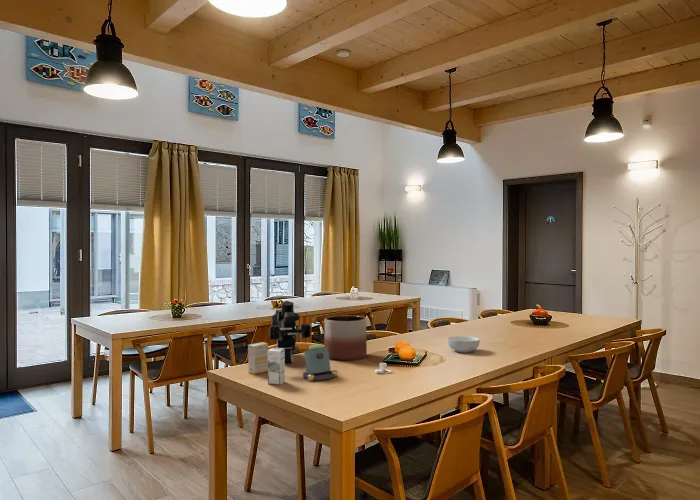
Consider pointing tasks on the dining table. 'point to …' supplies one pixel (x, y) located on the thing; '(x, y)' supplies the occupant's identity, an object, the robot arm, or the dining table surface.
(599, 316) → the dining table surface
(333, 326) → the planter
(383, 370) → the white lobed piece
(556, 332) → the dining table surface
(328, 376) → the base
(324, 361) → the grey upright slab
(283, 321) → the robot arm
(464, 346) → the cereal bowl
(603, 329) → the dining table surface
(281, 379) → the syrup box
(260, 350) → the supplement box
